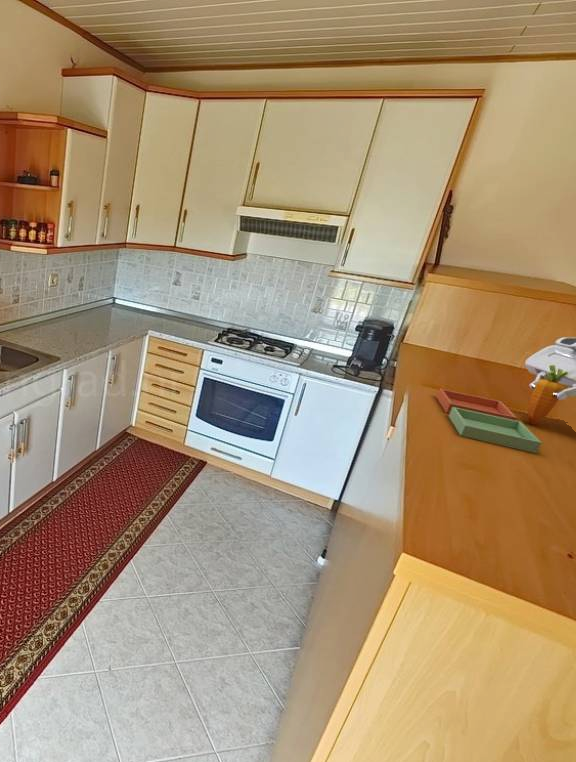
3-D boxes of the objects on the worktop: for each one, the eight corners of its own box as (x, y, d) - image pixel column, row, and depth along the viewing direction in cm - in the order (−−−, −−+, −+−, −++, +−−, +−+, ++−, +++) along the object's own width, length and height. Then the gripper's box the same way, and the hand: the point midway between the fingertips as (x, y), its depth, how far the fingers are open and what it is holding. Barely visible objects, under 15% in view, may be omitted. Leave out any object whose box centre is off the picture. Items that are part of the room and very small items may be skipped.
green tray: (516, 431, 114) (521, 421, 113) (536, 453, 103) (542, 442, 102) (448, 416, 119) (452, 406, 118) (460, 435, 108) (465, 425, 107)
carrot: (549, 430, 117) (578, 371, 111) (524, 425, 118) (551, 367, 113) (538, 423, 121) (566, 366, 116) (514, 418, 123) (540, 361, 117)
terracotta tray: (496, 410, 127) (500, 401, 126) (512, 427, 116) (517, 417, 115) (436, 397, 133) (439, 388, 132) (446, 412, 122) (450, 403, 121)
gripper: (657, 382, 105) (594, 419, 108) (562, 354, 124) (511, 386, 127) (649, 360, 103) (585, 399, 106) (554, 335, 122) (502, 369, 125)
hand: (544, 392), depth 117 cm, fingers closed on carrot, 4 cm apart
